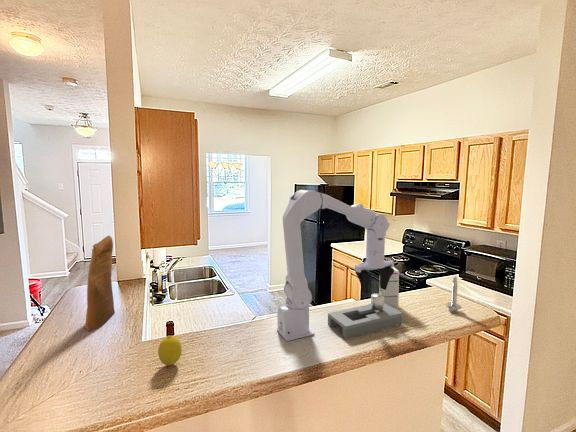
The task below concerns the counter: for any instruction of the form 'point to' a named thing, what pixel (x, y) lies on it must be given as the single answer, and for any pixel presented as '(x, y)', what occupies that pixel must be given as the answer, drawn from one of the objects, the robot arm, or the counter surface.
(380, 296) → the steel peg
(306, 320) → the robot arm
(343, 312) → the keyhole plate
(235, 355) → the counter surface
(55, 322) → the counter surface
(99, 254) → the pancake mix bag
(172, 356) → the lemon
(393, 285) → the syrup box
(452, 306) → the screw
